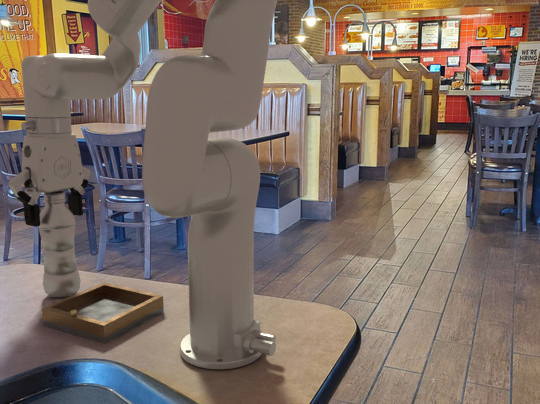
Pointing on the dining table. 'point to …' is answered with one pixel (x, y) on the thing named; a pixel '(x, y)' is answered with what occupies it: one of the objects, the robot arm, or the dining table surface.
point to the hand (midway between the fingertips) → (55, 219)
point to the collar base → (102, 312)
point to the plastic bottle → (58, 246)
